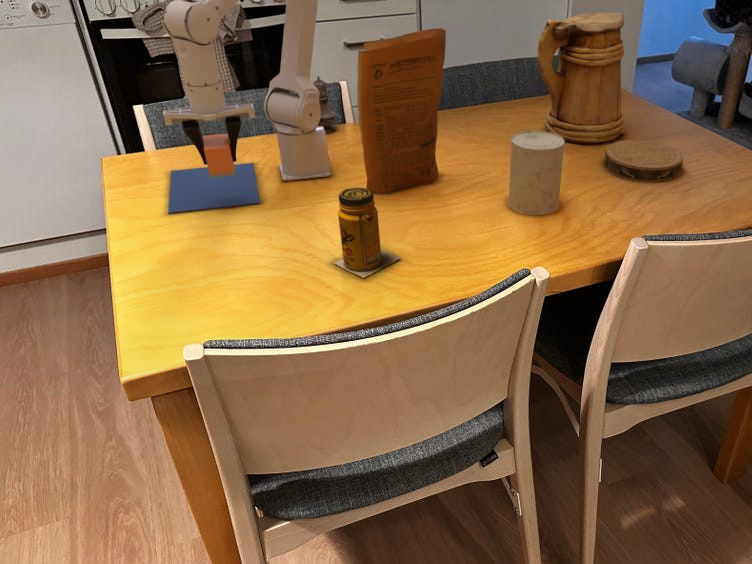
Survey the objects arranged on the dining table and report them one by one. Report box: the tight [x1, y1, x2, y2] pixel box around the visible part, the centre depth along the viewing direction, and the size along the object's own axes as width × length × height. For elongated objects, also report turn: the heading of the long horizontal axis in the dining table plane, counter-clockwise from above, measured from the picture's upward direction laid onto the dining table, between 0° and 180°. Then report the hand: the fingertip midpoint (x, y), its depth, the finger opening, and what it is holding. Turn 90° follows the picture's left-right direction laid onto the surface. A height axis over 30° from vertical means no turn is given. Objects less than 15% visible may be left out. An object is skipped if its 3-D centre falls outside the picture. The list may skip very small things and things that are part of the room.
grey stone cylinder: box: [507, 130, 566, 216], centre depth 127 cm, size 10×10×12 cm
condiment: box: [332, 187, 402, 279], centre depth 109 cm, size 7×8×12 cm
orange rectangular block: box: [202, 133, 235, 177], centre depth 123 cm, size 4×7×5 cm, turn 18°
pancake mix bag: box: [356, 27, 447, 195], centre depth 129 cm, size 7×19×28 cm, turn 125°
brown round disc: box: [603, 139, 684, 183], centre depth 146 cm, size 16×16×3 cm
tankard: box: [537, 11, 626, 145], centre depth 155 cm, size 18×24×25 cm
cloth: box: [167, 162, 261, 215], centre depth 134 cm, size 16×20×1 cm
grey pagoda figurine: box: [312, 75, 337, 134], centre depth 158 cm, size 6×6×12 cm
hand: (220, 161), depth 123 cm, fingers closed on orange rectangular block, 4 cm apart
